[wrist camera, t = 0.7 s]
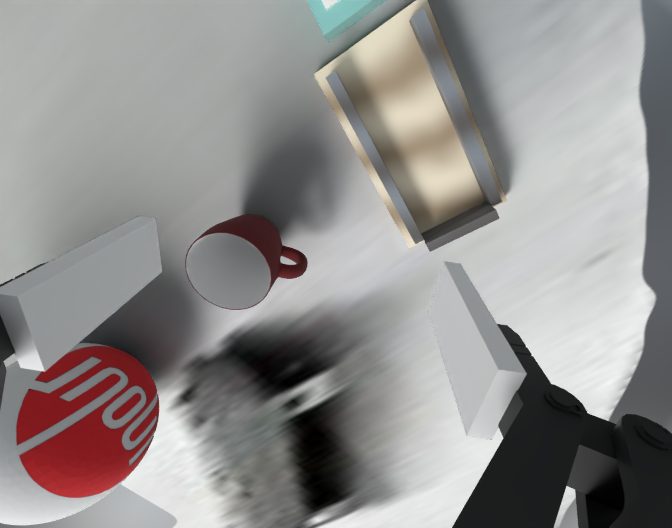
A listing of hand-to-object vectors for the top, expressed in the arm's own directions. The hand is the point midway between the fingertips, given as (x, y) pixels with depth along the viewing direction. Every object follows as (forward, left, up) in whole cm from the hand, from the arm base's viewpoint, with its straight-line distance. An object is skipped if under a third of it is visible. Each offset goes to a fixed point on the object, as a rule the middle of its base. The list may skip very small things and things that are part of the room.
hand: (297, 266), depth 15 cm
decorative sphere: (+8, -43, -22) cm, 49 cm away
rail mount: (+1, +9, -22) cm, 24 cm away
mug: (+2, -10, -22) cm, 25 cm away
